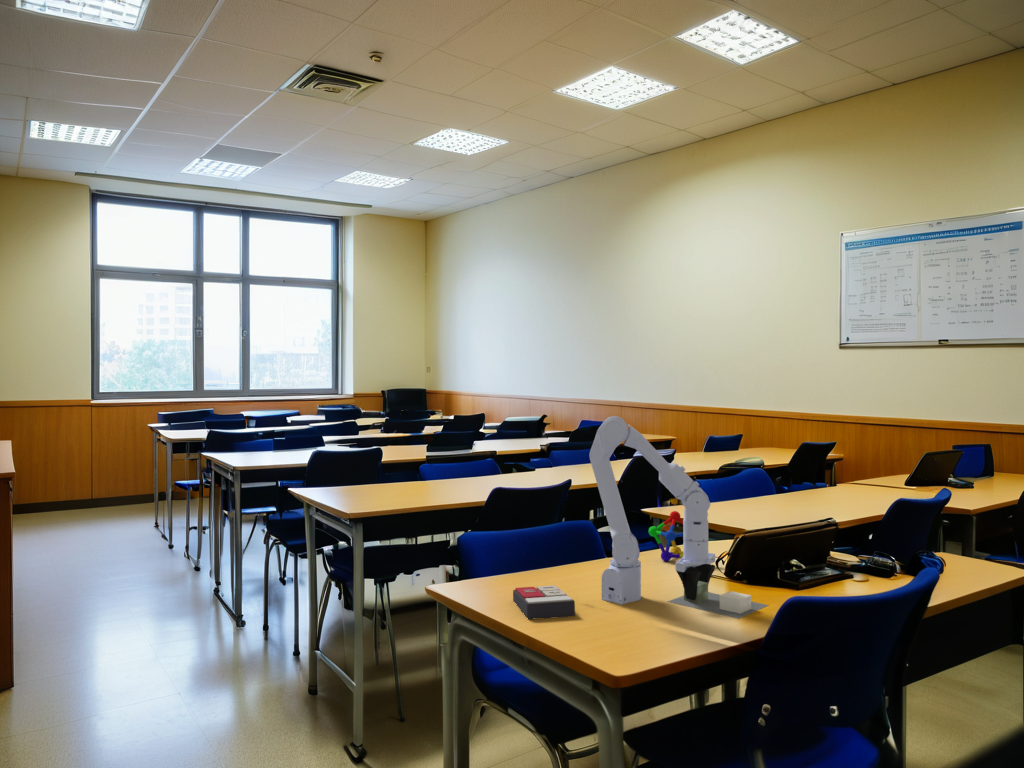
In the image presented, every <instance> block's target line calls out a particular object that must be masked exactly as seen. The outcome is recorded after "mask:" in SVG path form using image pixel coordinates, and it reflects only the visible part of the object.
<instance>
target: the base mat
mask: <svg viewBox="0 0 1024 768" xmlns="http://www.w3.org/2000/svg"><path fill="white" fill-rule="evenodd" d="M720 595H721V594H719V593H714V592H709V591H708V600H706V601H704V602H701V603H696V602H691V601H687V600H684V595H682V596H678V597H676V598H673V599H671V600H668V601H667V603H671V604H675V605H676V604H677V605H680V606H684V607H688V608H691V609H692V608H693V609H697V610H701V611H705V612H708V613H709V612H710V613H713V614H718V615H721V616H726V617H730V618H734V619H738V620H739V619H742V618H744V617H746V616H748V615H751V614H752V613H755V612H757V611H759V610H762V609H764V608H766V607H768V606H770V605H768V604H764V603H760V602H755V601H752V600H751V609H750V610H747V611H745V612H743V613H741V614H740V613H736V612H731V611H727V610H723V609H720Z"/></svg>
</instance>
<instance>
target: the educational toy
mask: <svg viewBox="0 0 1024 768" xmlns="http://www.w3.org/2000/svg"><path fill="white" fill-rule="evenodd" d="M677 522H678V523H680V524H681V525H683V519H682V518H681V514H680V512H679V511H677V510H673V511H671V512H670V514H669V517H668V518H667V519H666V520H665V521H663V522H662V523H660V524H659V525H657V526H655V525H653V526H650V527H648V534H649V536H650V537H654V539H655V541H656V543H657V545H658V547H659V549H660V551H661V553H660V558H661V560H662V561H663V562H670V560H672V559H681V558H682V557H683V551H682V548H681V547H679V546H678V545H677V544H676V541H675V540H676V538H680V537H683V532H679V533H678V532H675V531H674V530H675V526H676V523H677ZM663 530H664V531H665V532H664V531H663ZM658 535H659V536H663V537H665V540H666V541H667V542H666V546H665V547H664V545H663V543H662V541H661V539H660V537H659V536H658ZM671 546H672V547H671ZM670 547H671V549H670Z"/></svg>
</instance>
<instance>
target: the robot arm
mask: <svg viewBox="0 0 1024 768" xmlns="http://www.w3.org/2000/svg"><path fill="white" fill-rule="evenodd" d="M622 443H623V445H624V446H625V447H629V448H632V449H635V450H636V451H637V452H638V453H639V454H640V455H642V456H643V458H644V459H645V460H646V461H647V462H648V463H649V464H650V465H652V467H653V468H654V469H655V470H656V471H658V481H659V482H660V483H661V484H662V485H663V486H664V487H665V488H666V489H667V490H668V491H669V492H670V493H671V495H673V496H674V498H675V499H677V500H680V501H681V504H682V506H684V508H683V519H682V520H683V524H682V526H683V527H682V528H683V529H682V530H683V532H682V533H683V536H682V539H683V543H682V545H683V546H682V547H683V548H682V549H683V557H682V558H679V560H678V561H676V562H675V572H676V573H677V575H678V577H679V579H680V581H681V584H682V586H683V587H682V588H683V592H684V591H685V595H686V598H687V599H690V600H695V599H696V595H697V585H698V581H702V582H707V583H708V585H709V584H710V580H711V578H712V575H713V573H714V571H715V570H716V565H714V564H713V563H715V562H716V553H713V552H709V519H708V517H709V513H708V511H709V509H710V507H711V502H710V499H709V495H707V493H706V492H705V491H704V490H703V489H702V487H699V486H700V483H698V481H694V480H693V478H691V477H690V476H689V475H688V474H687V472H686V468H685V467H684V466H683V465H682V464H681V465H678V463H675V462H671V463H670V462H668V460H666V459H665V458H664V457H663V456H662V455H661V454H660V452H658V451H657V449H656V448H655V447H654V446H653V445H652V443H650V441H649V440H648V439H647V438H646V437H644V435H643V434H642V433H641V432H639V431H638V430H637V429H636V428H634V427H633V426H632V425H631V424H627V422H626V421H625V420H624V419H623V418H622V417H621V416H618V415H617V416H615V415H612V416H609V417H607V418H606V419H604V420H603V422H602V423H601V425H600V426H599V427H598V429H597V430H596V433H595V437H594V440H593V442H592V445H591V448H590V451H589V461H590V464H591V468H592V472H593V474H594V477H595V482H596V485H597V489H598V492H599V496H600V499H601V502H602V506H603V510H604V512H605V518H606V520H607V523H608V527H609V531H610V536H611V539H612V543H611V547H612V550H611V551H612V552H611V553H612V558H611V559H610V560H609V562H610V563H609V566H608V568H606V569H605V570H604V571H603V572H602V574H601V600H602V601H606V602H610V603H613V604H617V605H622V606H623V605H625V604H628V603H633V602H637V601H641V599H642V588H641V587H642V577H641V576H642V570H641V569H642V566H641V564H642V563H641V561H640V560H639V558H640V556H641V555H640V548H639V541H638V540H637V538H636V536H635V535H634V534H633V533H632V531H631V529H630V526H629V523H628V519H627V516H626V512H625V509H624V505H623V502H622V498H621V495H620V492H619V491H620V490H619V488H618V485H617V480H616V478H615V477H616V476H615V474H614V471H613V467H612V463H611V460H610V458H611V456H612V455H613V453H614V451H615V450H616V448H617V447H618V446H620V445H621V444H622Z"/></svg>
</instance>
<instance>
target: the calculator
mask: <svg viewBox="0 0 1024 768" xmlns="http://www.w3.org/2000/svg"><path fill="white" fill-rule="evenodd" d="M512 600H513V603H514V602H515V603H516V604H517V605H516V604H515V603H514V604H515V605H516V606H518V607H519V608H520V609H521V610H520V609H519V608H518V607H517V608H518V609H519V610H520V611H521V612H522V614H523V613H524V614H523V615H525V616H526V617H527V618H528V619H527V618H526V617H525V616H524V617H525V618H526V619H527V620H529V619H530V620H534V619H533V618H544V619H552V618H551V617H558V618H570V616H573V617H575V616H576V612H575V611H576V604H575V602H576V601H575V600H574V599H573V598H572V597H571V596H569V595H567V593H566V592H565V591H563V590H562V589H561V588H559V587H558V586H556V585H554V584H553V585H540V586H536V587H535V586H525V587H524V586H522V587H521V586H520V587H515V589H513V590H512ZM568 616H569V617H568Z"/></svg>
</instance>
